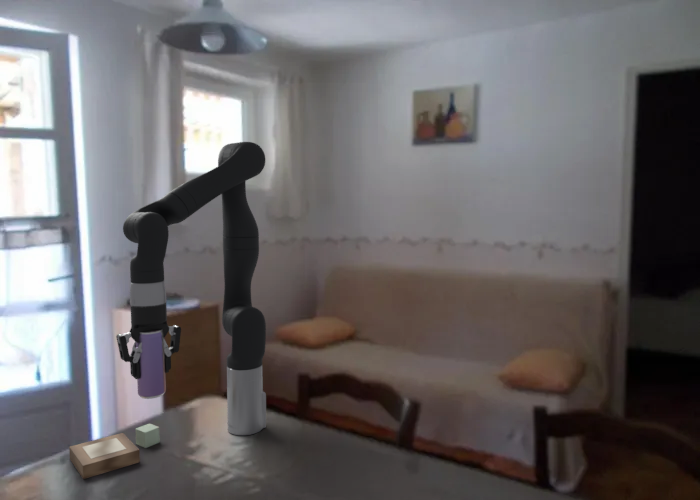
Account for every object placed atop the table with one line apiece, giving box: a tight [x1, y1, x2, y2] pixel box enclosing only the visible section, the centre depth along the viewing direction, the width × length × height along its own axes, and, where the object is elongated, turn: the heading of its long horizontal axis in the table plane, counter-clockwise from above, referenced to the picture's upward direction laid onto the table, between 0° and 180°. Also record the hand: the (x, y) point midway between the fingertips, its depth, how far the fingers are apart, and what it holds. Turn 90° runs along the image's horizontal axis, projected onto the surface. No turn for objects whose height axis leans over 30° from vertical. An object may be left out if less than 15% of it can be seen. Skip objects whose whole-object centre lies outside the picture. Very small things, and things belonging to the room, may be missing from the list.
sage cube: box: [134, 423, 161, 449], centre depth 132 cm, size 4×4×4 cm
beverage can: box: [136, 329, 167, 400], centre depth 120 cm, size 6×6×15 cm
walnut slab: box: [68, 432, 141, 480], centre depth 123 cm, size 12×12×3 cm
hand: (151, 374), depth 120 cm, fingers closed on beverage can, 6 cm apart
